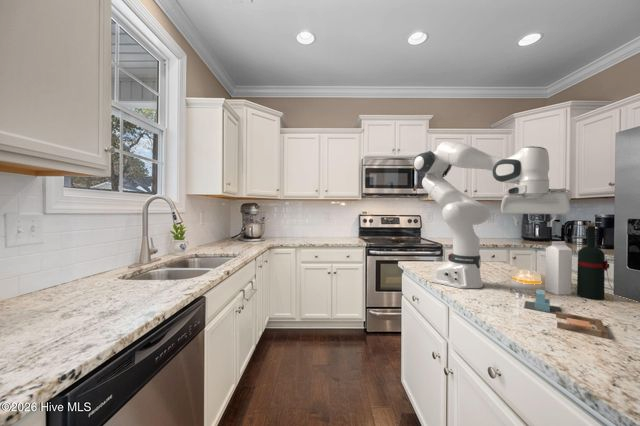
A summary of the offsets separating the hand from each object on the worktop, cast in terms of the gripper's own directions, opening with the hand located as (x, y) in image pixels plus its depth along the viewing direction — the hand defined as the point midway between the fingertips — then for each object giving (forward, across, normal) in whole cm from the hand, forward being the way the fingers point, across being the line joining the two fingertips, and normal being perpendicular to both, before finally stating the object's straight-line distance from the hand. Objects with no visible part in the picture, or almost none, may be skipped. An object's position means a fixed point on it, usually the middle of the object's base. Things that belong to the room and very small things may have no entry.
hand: (533, 226), depth 101 cm
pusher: (+29, -3, +5) cm, 29 cm away
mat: (+29, -3, +5) cm, 30 cm away
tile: (+30, -11, +18) cm, 36 cm away
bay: (+29, -11, +18) cm, 36 cm away
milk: (+29, -8, -24) cm, 39 cm away
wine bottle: (+29, -19, -25) cm, 43 cm away
